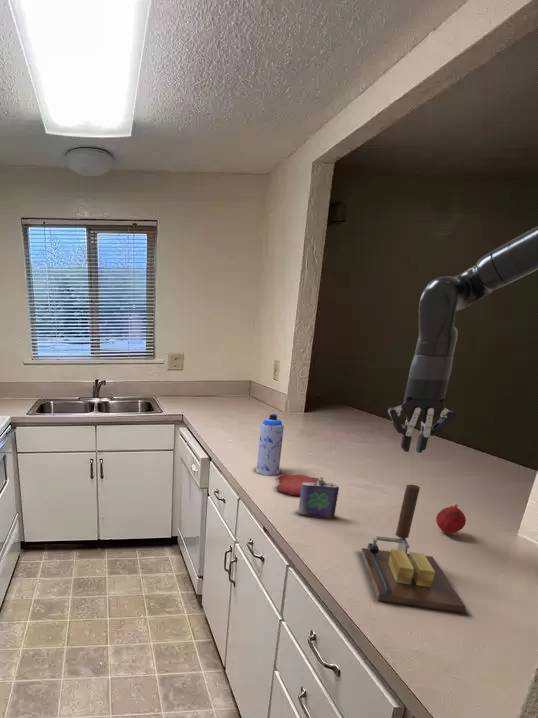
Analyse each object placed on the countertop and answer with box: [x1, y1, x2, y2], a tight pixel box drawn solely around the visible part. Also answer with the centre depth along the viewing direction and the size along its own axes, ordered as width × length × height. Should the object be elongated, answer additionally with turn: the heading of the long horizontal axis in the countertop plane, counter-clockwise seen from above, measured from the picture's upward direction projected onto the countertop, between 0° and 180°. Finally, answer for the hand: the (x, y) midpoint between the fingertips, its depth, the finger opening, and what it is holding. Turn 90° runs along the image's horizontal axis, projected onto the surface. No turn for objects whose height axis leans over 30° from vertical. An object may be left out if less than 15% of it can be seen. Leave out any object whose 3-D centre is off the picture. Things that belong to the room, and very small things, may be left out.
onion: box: [435, 503, 467, 535], centre depth 106 cm, size 6×6×8 cm
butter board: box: [360, 547, 466, 614], centre depth 88 cm, size 14×18×5 cm
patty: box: [276, 473, 319, 497], centre depth 136 cm, size 17×14×2 cm
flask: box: [297, 476, 340, 519], centre depth 116 cm, size 9×3×11 cm, turn 75°
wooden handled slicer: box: [367, 484, 421, 554], centre depth 92 cm, size 8×6×16 cm
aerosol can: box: [255, 413, 285, 476], centre depth 148 cm, size 8×8×20 cm
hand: (412, 451), depth 101 cm, fingers closed
